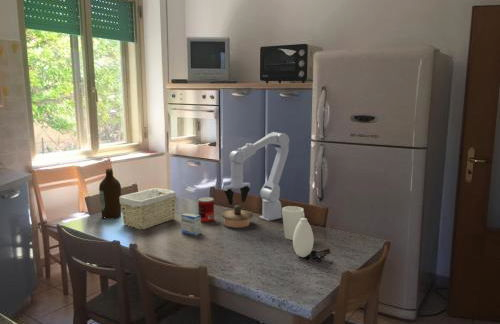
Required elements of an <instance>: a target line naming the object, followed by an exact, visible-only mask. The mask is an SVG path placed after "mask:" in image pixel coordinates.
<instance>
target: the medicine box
mask: <svg viewBox="0 0 500 324" xmlns="http://www.w3.org/2000/svg"><path fill="white" fill-rule="evenodd" d="M180 216H181V217H180V218H181V219H180V220H181V225H180V227H181V234H184V233H185V234H184V235H189V234H190V236H198V235H199V234H201V233H202V230H201V229H202V227H201V226H202V225H201V224H202V222H201V215H199V214H196V213H189V212H186V213H185V212H184V213H182V214H181V215H180Z"/></svg>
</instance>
